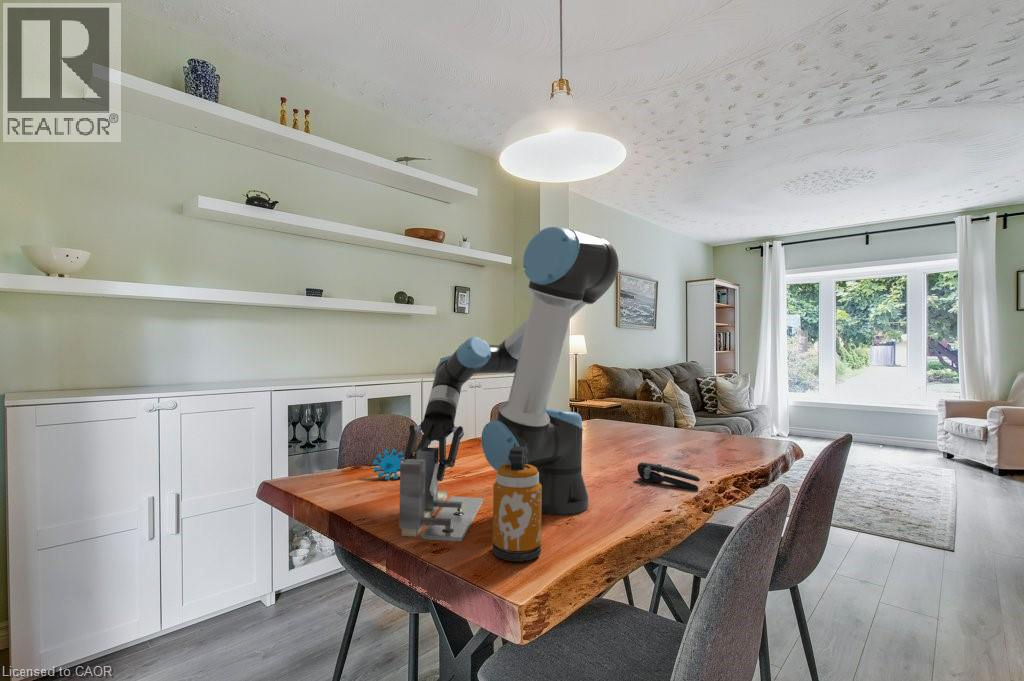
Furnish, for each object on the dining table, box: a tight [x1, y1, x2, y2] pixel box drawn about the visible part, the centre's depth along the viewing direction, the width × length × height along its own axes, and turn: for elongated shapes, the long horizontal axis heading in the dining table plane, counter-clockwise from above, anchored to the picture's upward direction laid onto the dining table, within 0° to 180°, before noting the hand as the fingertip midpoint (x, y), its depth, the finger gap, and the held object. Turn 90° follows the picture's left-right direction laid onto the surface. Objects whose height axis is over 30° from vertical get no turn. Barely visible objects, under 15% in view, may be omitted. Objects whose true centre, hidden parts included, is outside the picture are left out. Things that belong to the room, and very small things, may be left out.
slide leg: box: [416, 447, 462, 511], centre depth 110 cm, size 4×10×14 cm, turn 84°
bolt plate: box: [421, 495, 484, 542], centre depth 108 cm, size 25×8×1 cm, turn 174°
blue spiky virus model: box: [372, 448, 405, 481], centre depth 142 cm, size 11×6×10 cm
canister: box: [492, 443, 542, 562], centre depth 91 cm, size 9×11×20 cm
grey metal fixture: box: [398, 459, 451, 538], centre depth 110 cm, size 26×10×14 cm, turn 174°
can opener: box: [637, 461, 701, 491], centre depth 137 cm, size 18×7×6 cm, turn 52°
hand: (421, 492), depth 106 cm, fingers closed on slide leg, 4 cm apart
